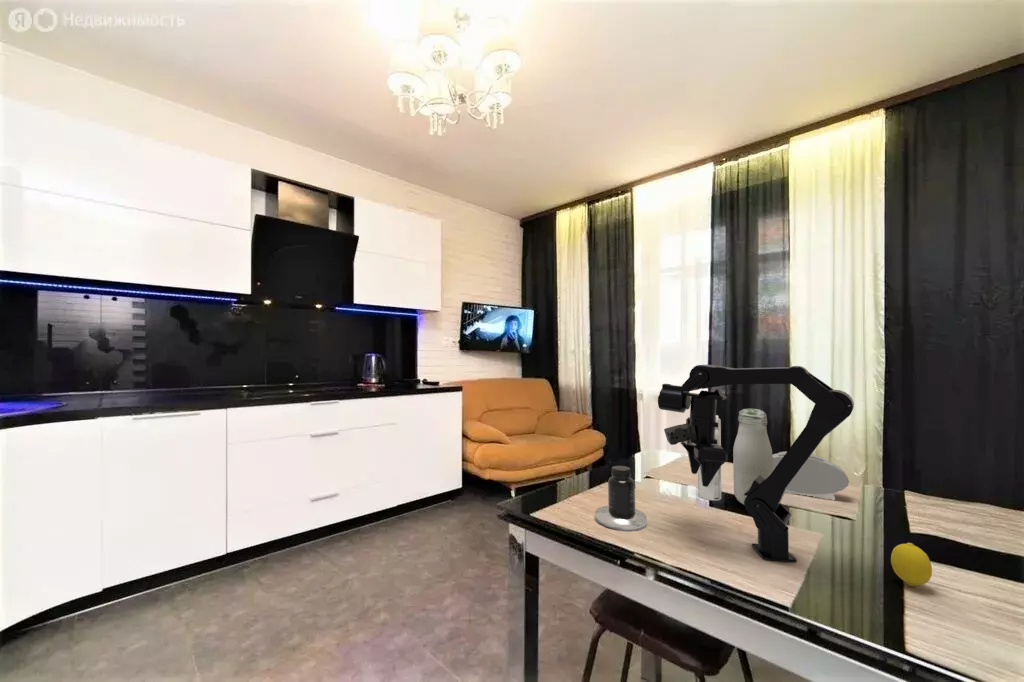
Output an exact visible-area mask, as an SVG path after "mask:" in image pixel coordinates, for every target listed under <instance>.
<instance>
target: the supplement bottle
mask: <svg viewBox="0 0 1024 682" xmlns="http://www.w3.org/2000/svg"><path fill="white" fill-rule="evenodd" d="M631 476H632V473H631V468H630V467H629V466H626V465H625V466H624V465H614V466H612V467H611V476H610V477H609V479H608V481H607V493H608V497H607V498H608V506H609V513H610V514H611V515H612V516H614V517H617V518H623V519H627V518H632V517H634V515H635V509H636V483H635V481H634V479H633V478H631Z"/></svg>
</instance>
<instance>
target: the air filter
mask: <svg viewBox="0 0 1024 682" xmlns="http://www.w3.org/2000/svg"><path fill="white" fill-rule="evenodd" d="M716 422H717V423H718V427H715V439H716V440H717V444H713V445H719V446H721V447H722V443H721V441H722V440H721V439H722V436H721V435H722V434H721V432H722V431H721V429H722V424H721V423H722V421H721V418H719V415H718V414H716ZM697 496H698V497H699V498H700V497H701V499H704V500H707V501H720V500H721V499H722V466H721V467H720V468H719V470H718V471H717V473H716V474H715V476H714V477H713V479H712V480H711V482H710V484H709V485H708V487H705V486H703V485H702V479H701V469H700V467H699V469H698V472H697Z"/></svg>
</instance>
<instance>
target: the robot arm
mask: <svg viewBox="0 0 1024 682" xmlns="http://www.w3.org/2000/svg"><path fill="white" fill-rule="evenodd" d="M774 384H775V385H792V386H794V387H795V388H796V389H797V390H798V391H799V392H801V393H802V394H803V395H804V396H805V397H806V398H807V399H808V400H810V401H811V402H812V403H813V404H814V406H813V408H812V410H811V412H810V415H809V418H808V420H807V423H806V425H805V427H804V428H803V429H802V431H801V432H800V433H799V435H798V436H797V438H796V439H795V440H794V442H793V443H792V444H791V446H790V447H789V448H788V450H787V453H786V454H785V455H784V457H783V458H782V459H781V461H780V462H779V464H778V465H777V466H776V468H775V469H774V470H773V472H772V473H771V474H770V475H769V476H768V477H767V478H766V479H764V478H763V477H762V476H761V475H759V476H758V477H757V478H756V479H755V480H754V481H753V483H752V485H751V487H750V488H749V489H748V490H747V491H746V492H745V493H744V495H745V496H747V497H746V498H745V500H744V505H743V506H744V507H745V511H746V512H747V513H748V514H749V515H750V516H751V518H752V520H753V522H754V524H755V527H756V528H757V543H751V548H753V550H754V551H756V553H757V554H759V556H760V557H761V558H762V559H764V560H767V561H779V562H780V561H781V562H782V561H783V562H793V563H796V562H797V558H796V557H795V556H794V555H793V554H791V552H789V551H790V546H789V545H790V543H789V542H790V541H789V540H790V539H789V538H790V537H789V527H788V526H787V525H788V523H789V521H790V519H791V517H792V513H791V512H790V511H789V510H788V509H787V508H786V507H785V506H784V505H783V504H782V500H783V497H784V495H785V494H786V493H785V491H786V488H787V486H788V484H789V483H790V482H791V480H792V479H793V478H794V476H795V475H796V474H797V472H798V471H799V470H800V468H801V467H802V466H803V464H804V463H805V462H806V460H807V459H808V458H809V457H810V455H811V454H813V452H814V451H815V450H816V449H817V447H818V446H819V445H820V443H822V441H823V440H824V438H825V437H826V436H827V435H828V434H829V433H831V432H832V431H833V430H834V429H836V428H837V427H838V426H840V424H842V423H843V422H844V421H845V420H846V419H848V418H849V416H850V415H852V412H853V410H854V405H855V404H854V400H853V398H852V396H851V395H850V394H848V393H847V392H845V391H843V390H840V389H833V387H831V386H829V385H828V384H827V383H825V382H824V381H822V380H821V379H819V378H818V377H816V376H815V375H813V374H812V373H811V372H810V371H808V369H806V367H804V366H801V365H794V366H793V365H792V366H787V367H783V366H782V367H777V366H775V367H746V368H745V367H744V368H742V367H740V368H739V367H738V368H735V367H727V366H722V365H713V364H697V365H694V366H693V367H692V369H691V370H690V371H689V376H688V378H687V379H686V380H685V382H683V384H681V385H674V384H670V383H663V384H662V385H661V389H660V391H659V394H658V396H657V406H658V409H659V410H661V411H662V410H664V411H668V412H675V413H676V412H677V413H682V414H684V413H685V412H686V410H689V409H690V410H689V417H688V416H687V418H686V420H685V423H682V424H678V425H673V426H669V427H666V428H664V429H663V431H664V433H665V434H664V435H665V437H666V440H667V443H669V444H670V446H673V445H677V444H679V443H680V444H681V446H682V447H683V448H684V449H685V450H686V452H687V457H688V460H689V461H688V462H689V466H690V471H691V474H692V475H693V474H694V475H698V469H699V467H700V469H701V479H702V485H703V486H705V487H708V485H709V484H710V482H711V480H712V479H713V477H714V476H715V474H716V473H717V471H718V470H719V468H720V467H721V468H722V466H723V465H724V464H725V463H727V462H728V458H729V457H728V456H729V455H728V454H729V452H728V451H726V450H725V448H723V447H722V445H721V446H719V445H713V444H717V440H716V439H715V427H718V423H717V422H716V415H717V402H718V401H724V400H726V399H727V396H726V395H725V394H724V393H723V392H722V391H721V389H720V388H717V389H715V390H714V391H710V390H706V389H711V388H712V389H713V388H715V387H723V386H724V387H725V386H728V385H774ZM700 389H701V390H700ZM704 389H705V390H704ZM698 390H699V391H700V392H699V393H694V392H693V391H698Z"/></svg>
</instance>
